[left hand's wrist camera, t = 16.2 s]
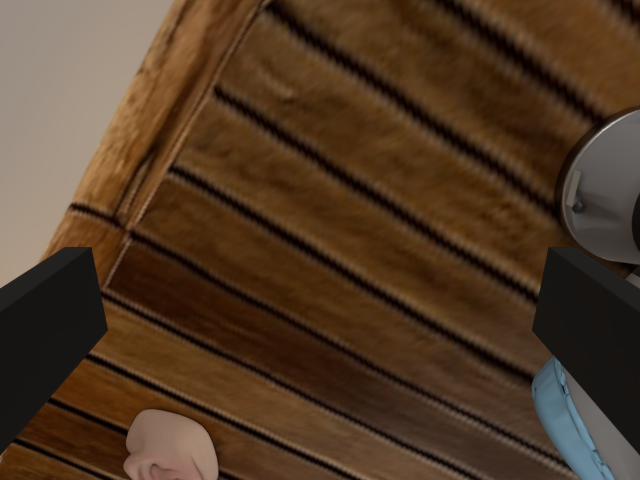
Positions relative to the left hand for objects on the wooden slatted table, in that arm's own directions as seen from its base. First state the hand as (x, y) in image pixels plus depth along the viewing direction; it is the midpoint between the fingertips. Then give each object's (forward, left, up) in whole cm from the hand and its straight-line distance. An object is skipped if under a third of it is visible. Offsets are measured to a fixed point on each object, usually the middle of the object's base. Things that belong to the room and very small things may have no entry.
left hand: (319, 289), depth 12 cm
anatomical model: (-3, +43, -31) cm, 53 cm away
